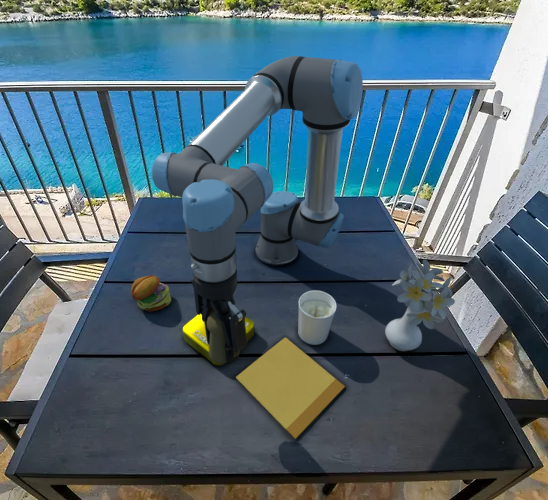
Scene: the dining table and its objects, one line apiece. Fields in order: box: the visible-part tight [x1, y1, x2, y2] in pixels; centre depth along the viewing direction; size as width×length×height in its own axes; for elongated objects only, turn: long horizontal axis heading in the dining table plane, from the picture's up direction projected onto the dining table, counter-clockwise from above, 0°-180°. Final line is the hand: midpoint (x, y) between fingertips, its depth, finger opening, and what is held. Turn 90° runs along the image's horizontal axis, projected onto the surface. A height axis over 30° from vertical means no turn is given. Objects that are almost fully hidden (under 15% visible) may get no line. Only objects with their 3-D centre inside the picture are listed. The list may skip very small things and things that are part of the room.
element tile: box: [181, 314, 255, 367], centre depth 96 cm, size 15×15×5 cm
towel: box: [235, 337, 346, 440], centre depth 86 cm, size 18×20×1 cm
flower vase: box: [384, 259, 456, 352], centre depth 87 cm, size 13×18×25 cm
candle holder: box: [297, 289, 338, 346], centre depth 94 cm, size 10×10×12 cm
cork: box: [207, 312, 227, 364], centre depth 71 cm, size 6×6×11 cm
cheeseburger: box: [130, 274, 172, 313], centre depth 105 cm, size 10×11×10 cm
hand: (222, 350), depth 74 cm, fingers closed on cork, 6 cm apart
